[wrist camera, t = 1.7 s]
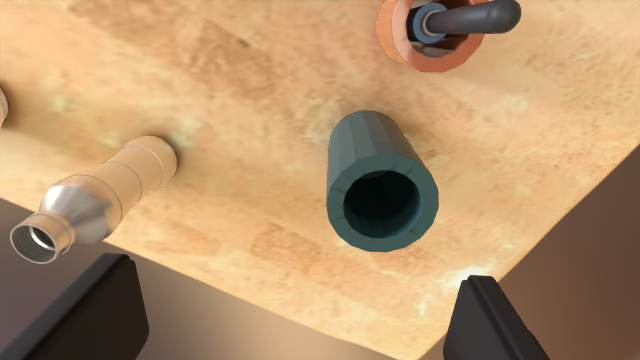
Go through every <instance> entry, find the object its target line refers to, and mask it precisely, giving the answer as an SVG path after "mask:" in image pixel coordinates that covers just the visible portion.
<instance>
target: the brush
mask: <svg viewBox="0 0 640 360" xmlns="http://www.w3.org/2000/svg"><path fill="white" fill-rule="evenodd" d="M520 17H521V7H520V5H519V3H518V2H517V1H515V0H493V1H488V2H483V3H479V4H474V5H469V6H464V7H459V8H454V9H450V10H447V9H446V7H444V6H443V5H442V4H439V3H428V4H425V5H422V6H419V7H416V8H413V9H410V11H409V14H408V17H407V20H406V28H407V38H408V40H409V41H410V42H419V43H435V42H437V41H439V40H441V39H442V38H443V37H444V36H445V35H446V34H501V33H505V32H508V31H510V30H511V29H513V28H514V27H515V26H516V25H517V23H518V22H519V20H520Z"/></svg>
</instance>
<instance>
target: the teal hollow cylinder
mask: <svg viewBox="0 0 640 360" xmlns="http://www.w3.org/2000/svg"><path fill="white" fill-rule="evenodd" d="M326 206H327V212H328V218H329V221H330V223H331V225H332V226H333V228H334V229H335V231H336V233H337V234H338V236H340V237H341V238H342V239H344V240H345V241H346V242H347V243H349V244H350V245H351V246H354V247H357V248H360V249H363V250H366V251H369V252H389V251H393V250H397V249H401V248H404V247H407V246H408V245H410V244H411V243H413V242H415V241H416V240H418V239H420V238H421V237H422V236H423V235H424V233H425V232H426V231H427V230H428V229H429V228H430V227H431V225H432V223H433V221H434V218H435V216H436V213H437V211H438V207H439V201H438V188H437V186H436V184H435V182H434V180H433V177H432V175H431V174H430V172H429V171H428V169H427V168H426V166H425V165H424V164H423V162H422V161H421V159H420V158H419V156H418V155H417V153H416V152H415V151H414V149H413V148H412V146H411V145H410V143H409V142H408V140H407V139H406V138H405V136H404V135H403V133H402V132H401V130H400V129H399V128H398V126H397V125H396V124H395V123H394V122H393V121H392V120H391V119H390V118H389V117H387V116H386V115H384V114H382V113H379V112H375V111H359V112H355V113H352V114H350V115H348V116H347V117H345V118H344V119H342V120H341V121H340V122H339V123H338V124H337V126H336V127H335V128H334V130H333V132H332V135H331V137H330V142H329V149H328V173H327V198H326Z"/></svg>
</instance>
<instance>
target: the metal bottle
mask: <svg viewBox="0 0 640 360" xmlns="http://www.w3.org/2000/svg"><path fill="white" fill-rule="evenodd" d="M176 169H177V158H176V155H175V153H174V151H173V149H172V148H171V146H170V145H169V144H168V143H166V142H165V141H164V140H162V139H160V138H158V137H155V136H143V137H138V138H135V139H133V140H131V141H129V142H128V143H127V144H126V145H125V146H124V147H123V148H122V149H121V150H120V151H119V152H118V153H117V154H116V155H114V156H113V157H112V158H110V159H109V160H108V161H106V162H104V163H102V164H100V165H98V166H96V167H94V168H92V169H90V170H87V171H84V172H81V173H78V174H75V175H72V176H70V177H66V178H64V179H62V180H60V181H58V182H56V183H55V184H53V185H52V186H51V187H50V188H49V190H48V191H47V192H46V193H45V194H44V196H43V198H42V201H41V204H40V207H39V212H36V213H34V214H33V215H31V216H29V217H28V218H27V219H26V220H25V221H23V222H22V223H20V224H18V225H17V226H16V227H14V228H13V230H12V231H11V234H10V240H11V243H12V245H13V247H14V249H15V250H16V251H17V252H18V253H19V254H20V255H21V256H22V257H24V258H25V259H27V260H29V261H31V262H34V263H40V264H45V263H49V262H51V261H53V260H55V259H56V258H57V257H58V256H60V255H61V254H63V253H65V252H67V251H68V250H69V249H70V248H72V246H76V245H90V244H93V243H96V242H99V241H101V240H103V239H105V238H107V237H108V236H109V235H110V234H111V233H112V232H113V231H114V230H115V229H116V228H117V226H118V225H119V224H120V223H121V221H122V220H123V219H124V217H125V216H126V215H127V213H128V212H129V211H130V210H131V209H132V208H133V207H134V206H135V205H136V204H137V203H138V202H139V201H140V200H141V199H142V198H143V197H145V196H146V195H148V194H149V193H151V192H152V191H154V190H157V189H158V188H160V187H162V186H164V185H165V184H167V183H168V182H169V181H170V180H171V178H172V177H173V175H174V173H175V171H176Z"/></svg>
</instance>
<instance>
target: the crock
mask: <svg viewBox="0 0 640 360" xmlns="http://www.w3.org/2000/svg"><path fill="white" fill-rule="evenodd" d="M488 1H489V0H386V1H385V2H384V4H383V5H382V6H381V8H380V11H379V13H378V16H377V20H376V36H377V40H378V43H379V45H380V47H381V48H382V50H383V51H384V52H385V54H386V55H387V56H389V57H391V58H393V59H394V60H396V61H398V62H400V63H402V64H405V65H407V66H409V67H411V68H414V69H416V70H418V71H421V72H440V73H442V72H445V71H448V70H450V69H452V68H454V67H456V66H459V65H461V64H463V63H464V62H465V61H466V60H467V59H468V58H469V57H470V56H471V55H472V54H473V53H474V52H475V51H476V49H477V48H478V47H479V46H480V44H481V42H482V39H483V37H484V35H485V34H446V35H445V36H444V37H443V38H442V39H441V40H439V41H437V42H435V43H419V42H410V41H409V40H408V38H407V28H406V20H407V17H408V14H409V11H410V9H413V8H416V7H419V6H422V5H425V4H428V3H439V4H442V5H443V6H444V7H446V9H447V10H450V9H454V8H459V7H464V6H469V5H474V4H479V3H483V2H488Z"/></svg>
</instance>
